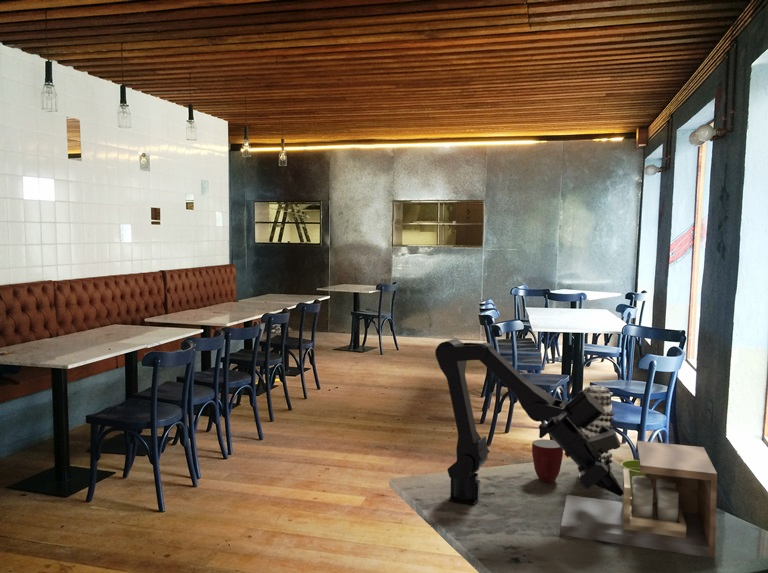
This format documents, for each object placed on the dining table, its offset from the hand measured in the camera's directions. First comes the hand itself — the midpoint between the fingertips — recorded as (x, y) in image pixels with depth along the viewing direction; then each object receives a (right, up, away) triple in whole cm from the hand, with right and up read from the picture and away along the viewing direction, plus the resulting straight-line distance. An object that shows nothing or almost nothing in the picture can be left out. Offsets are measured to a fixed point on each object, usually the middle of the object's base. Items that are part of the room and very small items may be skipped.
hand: (622, 494), depth 137 cm
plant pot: (+11, -7, +16) cm, 20 cm away
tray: (+6, -5, -2) cm, 8 cm away
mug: (-9, -6, +28) cm, 30 cm away
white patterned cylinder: (+5, -6, +32) cm, 32 cm away
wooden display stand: (+2, -7, -1) cm, 8 cm away
